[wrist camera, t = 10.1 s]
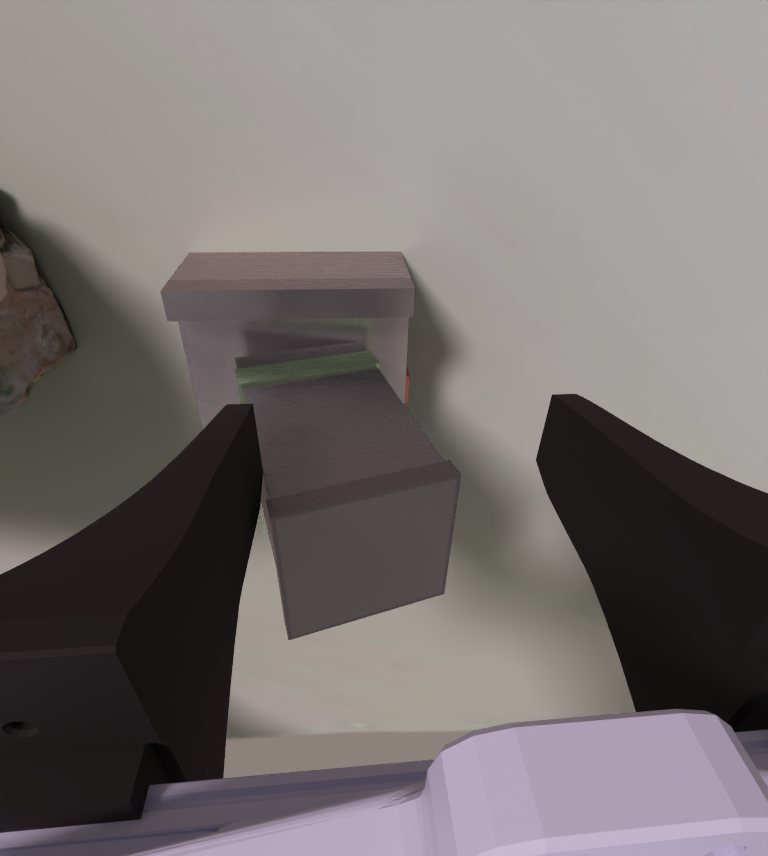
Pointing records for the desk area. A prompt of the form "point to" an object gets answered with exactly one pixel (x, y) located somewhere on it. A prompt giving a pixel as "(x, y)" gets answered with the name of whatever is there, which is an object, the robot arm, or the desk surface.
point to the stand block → (287, 312)
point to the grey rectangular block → (346, 486)
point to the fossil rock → (27, 323)
